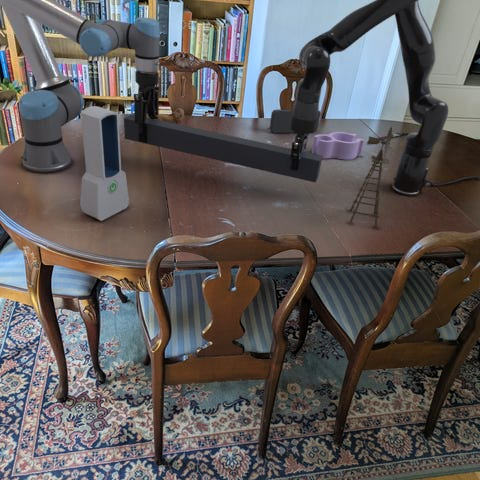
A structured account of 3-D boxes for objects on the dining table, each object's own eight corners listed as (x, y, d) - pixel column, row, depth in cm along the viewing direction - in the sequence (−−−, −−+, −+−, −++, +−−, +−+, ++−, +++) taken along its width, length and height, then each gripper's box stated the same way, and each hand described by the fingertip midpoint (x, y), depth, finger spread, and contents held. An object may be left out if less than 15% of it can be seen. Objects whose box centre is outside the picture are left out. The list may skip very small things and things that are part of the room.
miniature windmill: (376, 228, 143) (404, 134, 127) (348, 223, 144) (372, 129, 128) (375, 214, 150) (401, 124, 134) (349, 209, 151) (371, 119, 135)
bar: (124, 138, 163) (123, 118, 159) (132, 134, 167) (131, 114, 163) (315, 182, 148) (319, 161, 144) (318, 176, 152) (322, 155, 148)
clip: (320, 160, 184) (324, 144, 180) (307, 148, 194) (310, 132, 190) (364, 158, 190) (368, 142, 186) (349, 146, 200) (352, 131, 196)
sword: (405, 131, 223) (406, 129, 223) (410, 133, 221) (411, 131, 221) (362, 143, 208) (363, 140, 207) (367, 145, 206) (368, 143, 205)
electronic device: (98, 222, 131) (90, 118, 115) (80, 214, 134) (69, 111, 118) (130, 206, 140) (126, 108, 124) (111, 198, 143) (105, 101, 127)
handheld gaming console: (314, 130, 214) (318, 108, 209) (317, 132, 212) (321, 110, 207) (268, 131, 207) (271, 109, 202) (270, 133, 205) (273, 111, 200)
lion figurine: (182, 127, 202) (182, 106, 197) (185, 131, 197) (185, 110, 193) (148, 128, 197) (147, 107, 192) (150, 132, 193) (150, 111, 188)
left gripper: (143, 78, 143) (143, 150, 155) (170, 67, 157) (168, 133, 170) (121, 74, 144) (123, 145, 157) (150, 63, 159) (149, 129, 171)
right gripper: (312, 124, 134) (302, 177, 143) (321, 111, 146) (311, 161, 155) (287, 119, 136) (279, 172, 145) (298, 106, 147) (290, 156, 157)
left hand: (146, 139), depth 163 cm, fingers closed on bar, 5 cm apart
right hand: (296, 166), depth 150 cm, fingers closed on bar, 5 cm apart
